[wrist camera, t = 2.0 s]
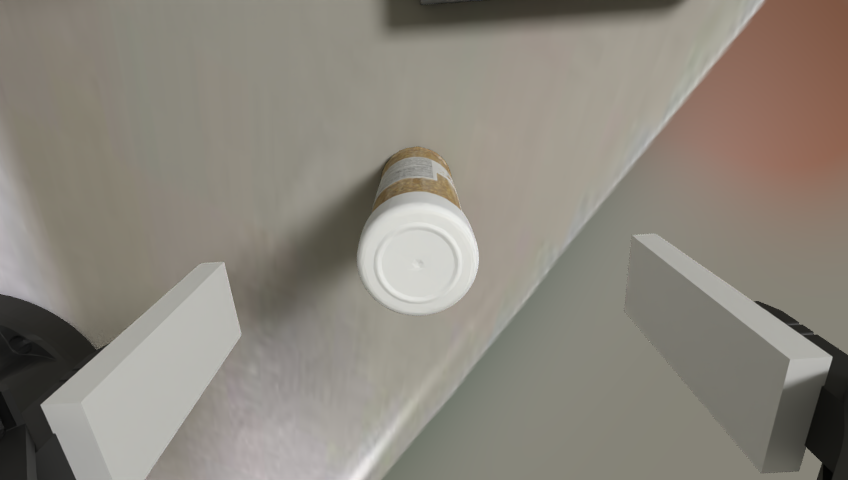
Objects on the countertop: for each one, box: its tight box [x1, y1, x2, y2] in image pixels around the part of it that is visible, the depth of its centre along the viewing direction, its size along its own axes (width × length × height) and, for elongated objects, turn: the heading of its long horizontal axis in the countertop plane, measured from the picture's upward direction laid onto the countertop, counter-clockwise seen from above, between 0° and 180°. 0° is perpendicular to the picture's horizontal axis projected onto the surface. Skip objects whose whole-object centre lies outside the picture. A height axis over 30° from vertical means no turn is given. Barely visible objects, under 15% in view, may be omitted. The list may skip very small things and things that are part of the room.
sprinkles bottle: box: [357, 147, 479, 316], centre depth 23 cm, size 5×5×13 cm
